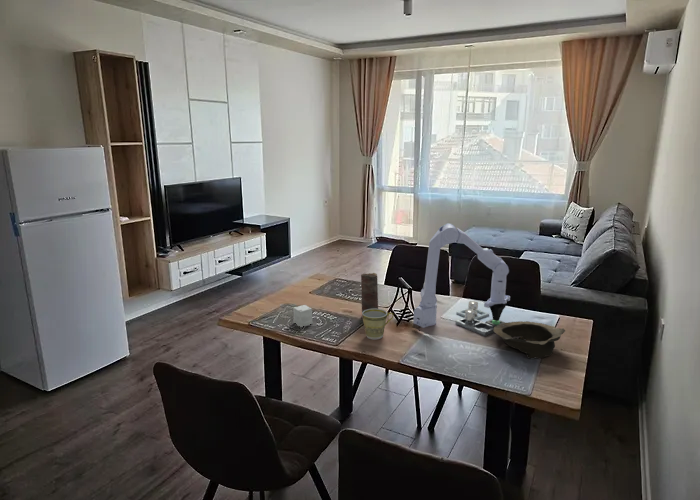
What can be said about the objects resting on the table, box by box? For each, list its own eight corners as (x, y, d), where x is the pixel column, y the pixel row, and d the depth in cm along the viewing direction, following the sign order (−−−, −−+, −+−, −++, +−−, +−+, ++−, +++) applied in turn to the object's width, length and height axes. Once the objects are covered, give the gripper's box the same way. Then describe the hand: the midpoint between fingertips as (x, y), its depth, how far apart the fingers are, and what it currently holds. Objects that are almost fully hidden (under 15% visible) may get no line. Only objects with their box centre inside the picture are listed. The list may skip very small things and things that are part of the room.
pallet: (484, 338, 181) (484, 332, 181) (455, 326, 193) (455, 320, 193) (497, 333, 186) (497, 327, 185) (468, 321, 198) (468, 316, 197)
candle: (358, 318, 203) (358, 275, 198) (364, 312, 209) (364, 270, 204) (375, 320, 200) (375, 276, 195) (380, 314, 207) (380, 272, 202)
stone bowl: (558, 369, 156) (558, 344, 154) (485, 357, 170) (484, 333, 168) (568, 341, 177) (568, 318, 175) (502, 332, 190) (501, 311, 188)
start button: (496, 328, 190) (496, 323, 190) (490, 326, 193) (490, 320, 192) (500, 326, 192) (501, 321, 191) (494, 324, 194) (495, 319, 194)
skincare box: (305, 320, 202) (305, 304, 200) (312, 324, 197) (312, 308, 195) (293, 323, 198) (292, 307, 196) (300, 327, 193) (299, 311, 191)
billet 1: (473, 317, 200) (474, 305, 199) (466, 315, 203) (466, 302, 202) (479, 315, 202) (479, 303, 201) (471, 313, 206) (472, 300, 204)
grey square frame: (474, 322, 196) (474, 318, 196) (456, 315, 204) (456, 311, 204) (488, 317, 202) (489, 313, 201) (470, 310, 210) (471, 306, 209)
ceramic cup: (366, 342, 178) (366, 319, 176) (359, 332, 188) (359, 309, 185) (397, 338, 182) (398, 315, 179) (388, 329, 191) (389, 306, 189)
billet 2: (470, 327, 189) (470, 313, 188) (462, 324, 192) (463, 311, 191) (476, 325, 192) (477, 311, 190) (468, 322, 195) (469, 308, 193)
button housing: (497, 330, 188) (497, 326, 188) (485, 326, 193) (485, 321, 192) (506, 327, 192) (506, 322, 191) (494, 322, 196) (494, 318, 196)
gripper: (495, 295, 181) (492, 327, 184) (517, 288, 189) (514, 318, 192) (480, 290, 186) (478, 321, 190) (502, 283, 195) (500, 313, 198)
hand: (495, 319), depth 192 cm, fingers closed
